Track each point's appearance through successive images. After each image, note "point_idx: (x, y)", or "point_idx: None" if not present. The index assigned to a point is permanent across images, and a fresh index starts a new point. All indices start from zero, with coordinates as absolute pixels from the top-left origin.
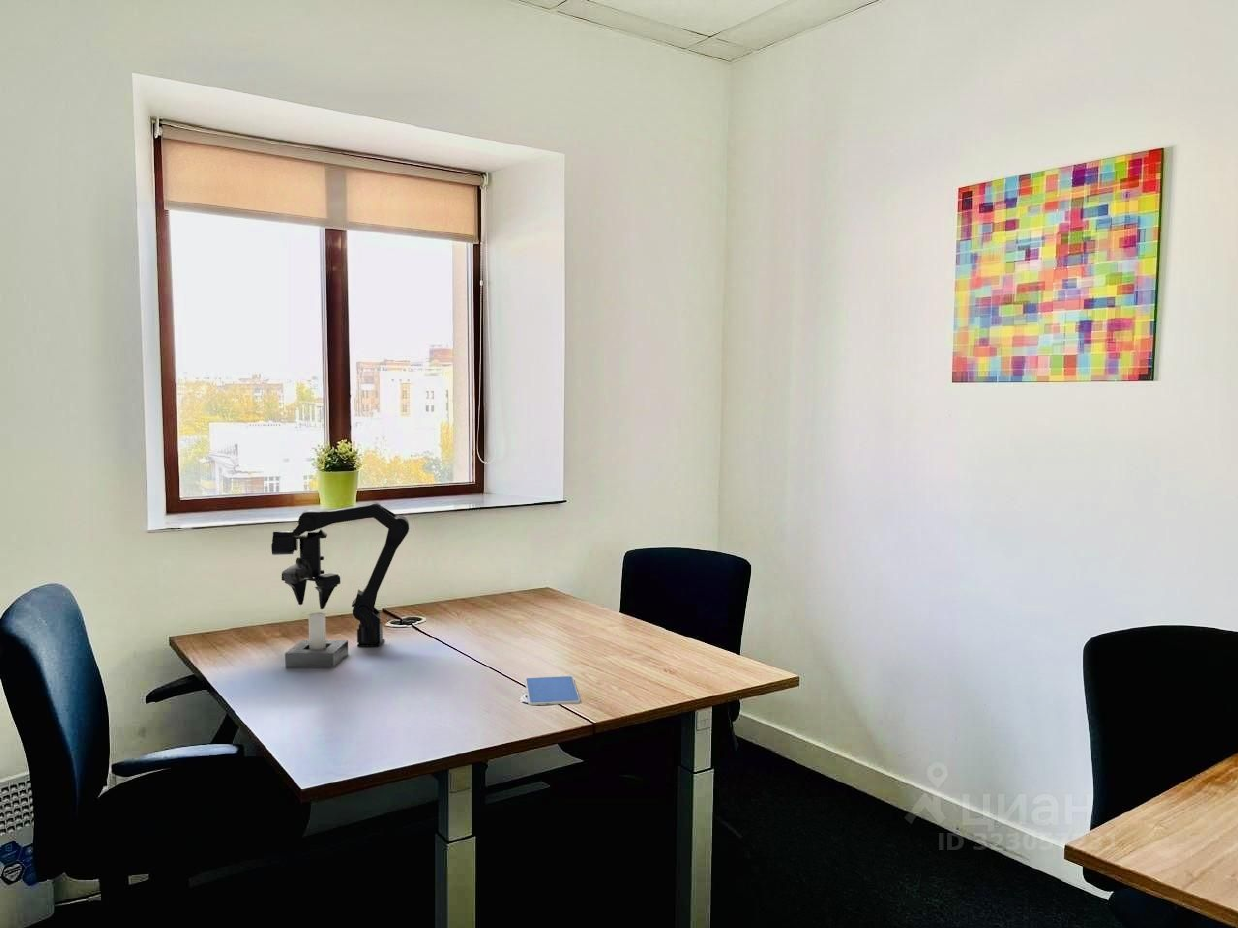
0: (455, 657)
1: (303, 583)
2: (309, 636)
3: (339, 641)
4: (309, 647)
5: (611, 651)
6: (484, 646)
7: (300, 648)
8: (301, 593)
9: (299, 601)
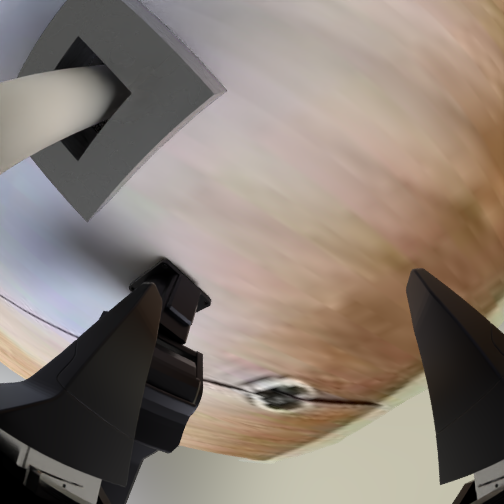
0: (23, 299)
1: (454, 452)
2: (43, 72)
3: (86, 194)
4: (80, 67)
5: (22, 361)
6: (61, 348)
7: (94, 33)
8: (441, 363)
9: (423, 289)
